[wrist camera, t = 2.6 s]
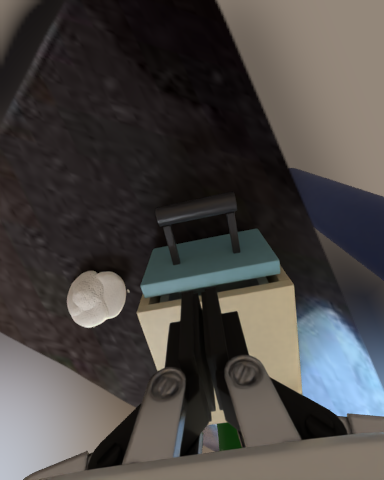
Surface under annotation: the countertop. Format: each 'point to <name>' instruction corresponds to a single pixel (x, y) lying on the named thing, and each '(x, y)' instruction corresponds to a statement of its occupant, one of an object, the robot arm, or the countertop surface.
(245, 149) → the countertop surface
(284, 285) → the cabinet
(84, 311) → the dumpling
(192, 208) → the drawer
